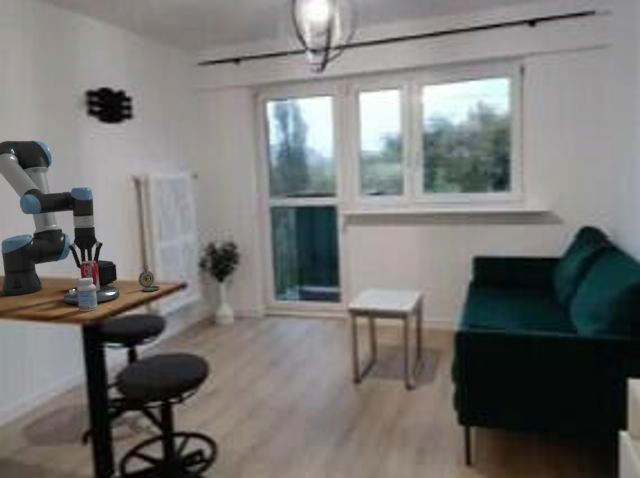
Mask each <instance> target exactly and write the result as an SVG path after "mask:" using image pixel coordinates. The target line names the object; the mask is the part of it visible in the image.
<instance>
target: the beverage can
mask: <svg viewBox="0 0 640 478" xmlns="http://www.w3.org/2000/svg"><path fill="white" fill-rule="evenodd" d="M80 264H81V263H80ZM79 270H80V279H82V278H93V283H92V284H94V285H95V287H96V292H98V291H99V290H100V284H99V273H98V265H97V263H96V261H93V260H92V261H88V260H86V261H84V262H82V264H81V266H80V268H79Z"/></svg>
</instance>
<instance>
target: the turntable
mask: <svg viewBox="0 0 640 478" xmlns="http://www.w3.org/2000/svg"><path fill="white" fill-rule="evenodd" d="M68 291H69V292H66V293H64V294H63V301H64V303H67V304H71V305H72V304H74V305H79V303H78V291H77V289H76V288H71V289H70V288H69V290H68ZM119 296H120V288H119V287H115V286H108V287H100V290H99V291H98V292H96V297H97V303H100V302H107V301H110V300H114V299H116V298H118V297H119Z"/></svg>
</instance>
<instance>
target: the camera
mask: <svg viewBox="0 0 640 478" xmlns="http://www.w3.org/2000/svg"><path fill="white" fill-rule="evenodd" d="M97 265H98V273H99V284H100V287H109V285H111V284H113V283H114V282H116V281H117V280H118V276H117V275H118V274H117V265H116V264H115V263H114V262H113V261H111V260H110V261H109V260H100V259H98V264H97Z"/></svg>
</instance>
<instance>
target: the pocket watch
mask: <svg viewBox="0 0 640 478" xmlns="http://www.w3.org/2000/svg"><path fill="white" fill-rule="evenodd" d="M142 269H143V270H145V271H142V272H141V273H140V274H139V275H138V283H139V284H140V286H141V287H143V288H142V291H144V292H155V291H158V290H159V289H160V288H161V287H160V286H157V285H153V283H154V282H155V281H154V280H155V275H154V273H153V272H152V271H149V270H148V269H149V265H146V264H144V265H143V266H142Z"/></svg>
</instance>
